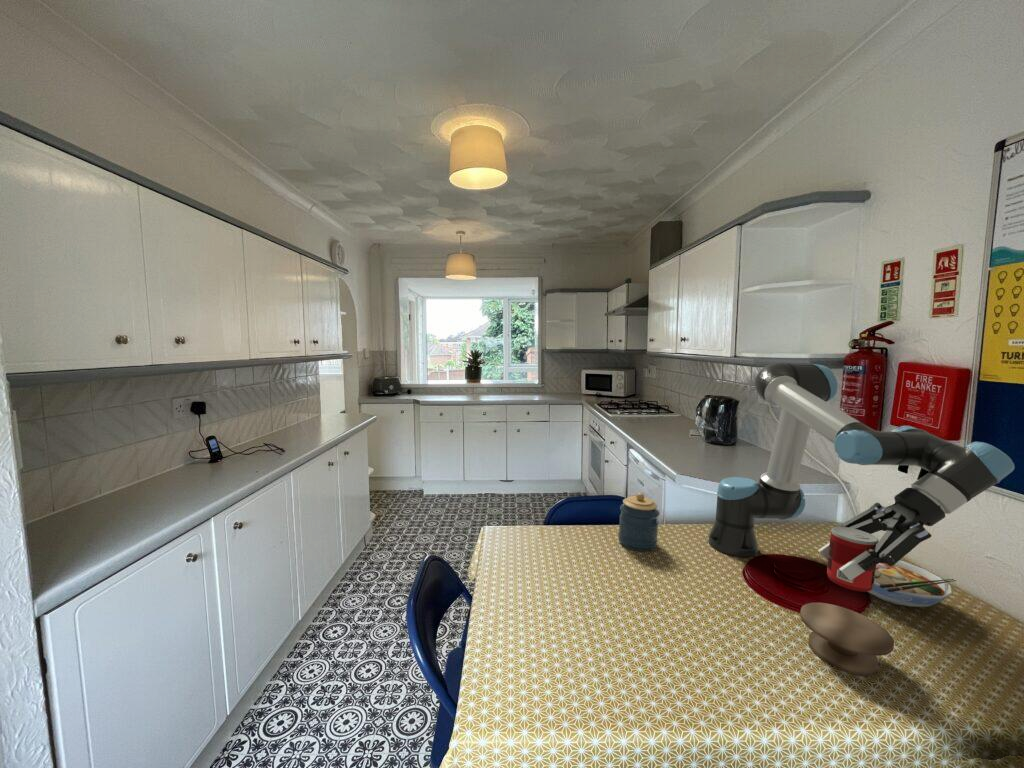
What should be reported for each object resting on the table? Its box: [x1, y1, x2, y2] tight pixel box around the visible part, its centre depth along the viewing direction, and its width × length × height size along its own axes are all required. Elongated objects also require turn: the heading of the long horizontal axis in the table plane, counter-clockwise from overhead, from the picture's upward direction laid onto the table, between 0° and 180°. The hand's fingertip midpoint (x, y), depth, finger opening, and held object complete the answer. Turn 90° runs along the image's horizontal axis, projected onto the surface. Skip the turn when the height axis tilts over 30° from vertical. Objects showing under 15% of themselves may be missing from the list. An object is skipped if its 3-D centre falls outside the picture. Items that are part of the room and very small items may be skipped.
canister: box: [617, 492, 660, 552], centre depth 142 cm, size 13×13×18 cm
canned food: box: [826, 526, 879, 593], centre depth 90 cm, size 8×8×11 cm
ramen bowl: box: [867, 559, 957, 608], centre depth 114 cm, size 25×23×8 cm
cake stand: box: [799, 602, 895, 677], centre depth 91 cm, size 16×16×7 cm
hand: (833, 564), depth 91 cm, fingers closed on canned food, 8 cm apart
